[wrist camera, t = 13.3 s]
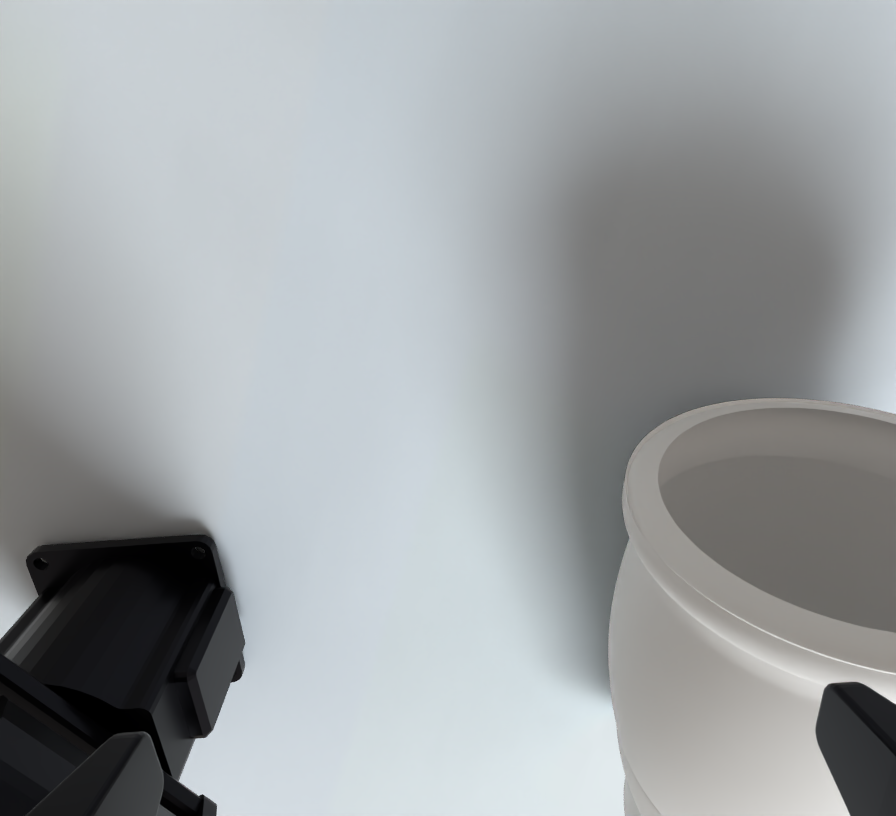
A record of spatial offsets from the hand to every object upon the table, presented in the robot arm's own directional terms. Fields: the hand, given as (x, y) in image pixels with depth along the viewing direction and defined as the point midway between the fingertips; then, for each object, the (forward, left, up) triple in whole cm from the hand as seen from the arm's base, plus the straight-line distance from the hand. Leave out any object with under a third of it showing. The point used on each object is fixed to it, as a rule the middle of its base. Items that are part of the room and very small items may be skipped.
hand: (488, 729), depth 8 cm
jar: (+9, -16, -9) cm, 21 cm away
